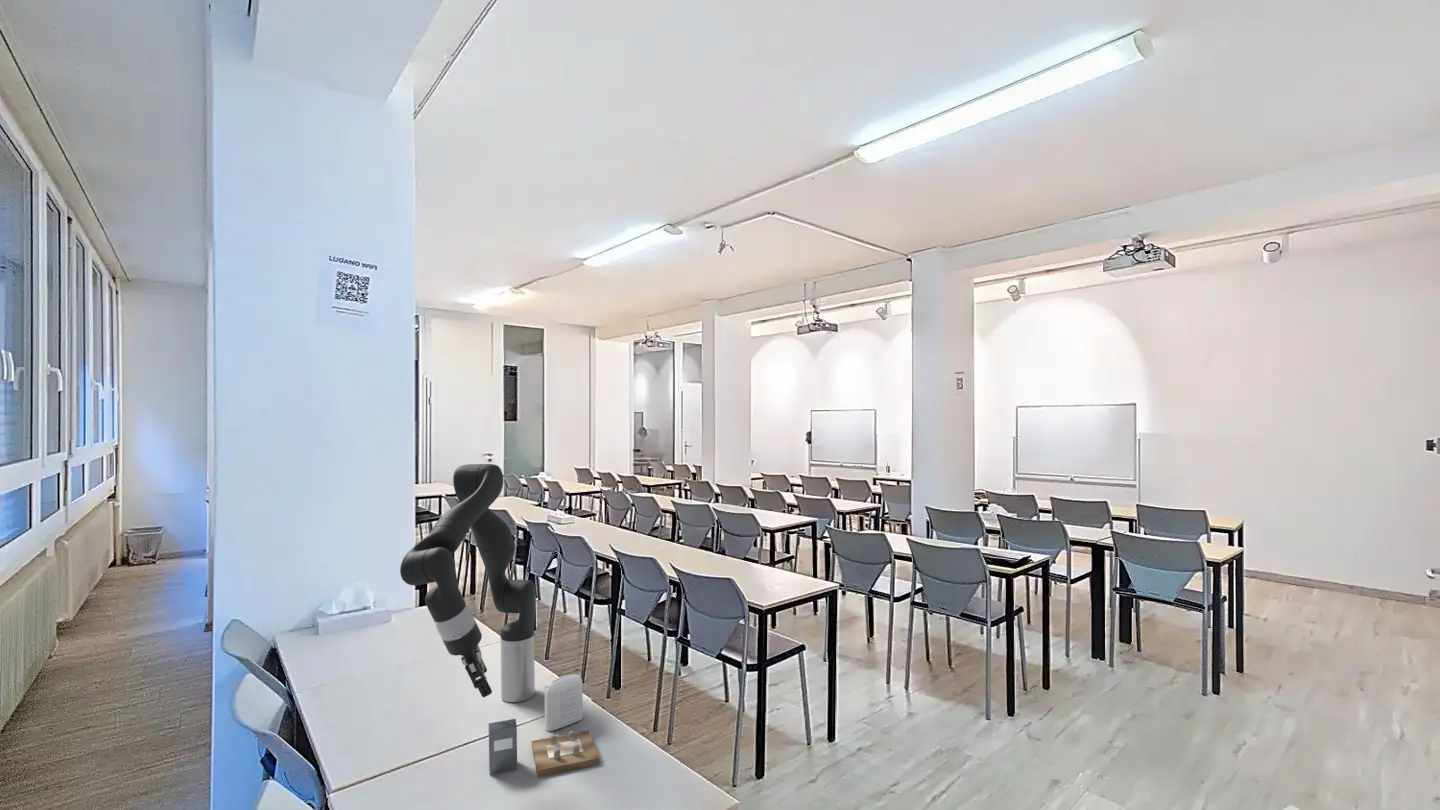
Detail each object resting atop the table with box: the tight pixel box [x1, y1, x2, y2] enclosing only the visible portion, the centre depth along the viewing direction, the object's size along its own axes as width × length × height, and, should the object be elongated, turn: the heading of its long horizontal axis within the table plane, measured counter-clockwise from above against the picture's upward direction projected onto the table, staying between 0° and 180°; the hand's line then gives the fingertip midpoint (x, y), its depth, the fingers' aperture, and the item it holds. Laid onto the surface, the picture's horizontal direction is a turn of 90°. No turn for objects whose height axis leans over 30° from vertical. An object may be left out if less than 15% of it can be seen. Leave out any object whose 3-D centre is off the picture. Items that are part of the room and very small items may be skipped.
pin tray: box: [531, 729, 601, 778], centre depth 157 cm, size 14×14×4 cm
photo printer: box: [544, 673, 584, 732], centre depth 173 cm, size 10×4×12 cm, turn 134°
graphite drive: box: [488, 718, 518, 776], centre depth 152 cm, size 4×6×10 cm
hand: (485, 683), depth 150 cm, fingers open, 8 cm apart
